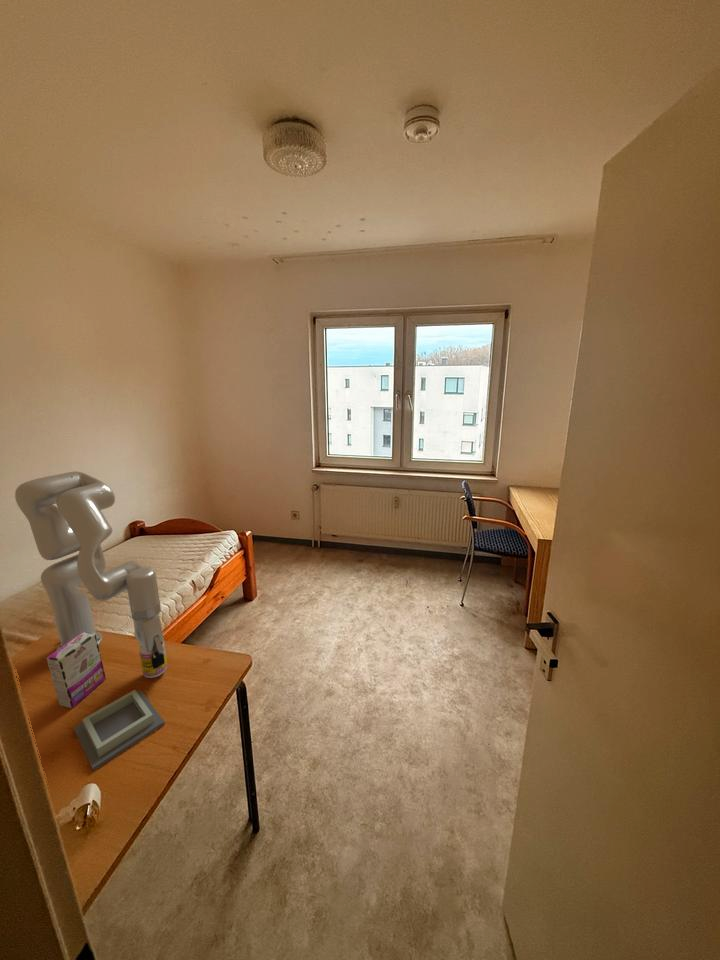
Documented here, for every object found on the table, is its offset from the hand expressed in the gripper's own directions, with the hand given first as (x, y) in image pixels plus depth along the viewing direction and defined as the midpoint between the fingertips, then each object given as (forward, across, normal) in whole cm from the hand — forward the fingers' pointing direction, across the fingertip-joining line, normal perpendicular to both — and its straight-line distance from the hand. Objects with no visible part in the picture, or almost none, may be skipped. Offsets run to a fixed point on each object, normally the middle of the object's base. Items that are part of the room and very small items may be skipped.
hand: (153, 659), depth 113 cm
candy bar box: (+6, -8, -17) cm, 20 cm away
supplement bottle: (+4, 0, 0) cm, 4 cm away
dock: (+5, +12, -14) cm, 19 cm away
